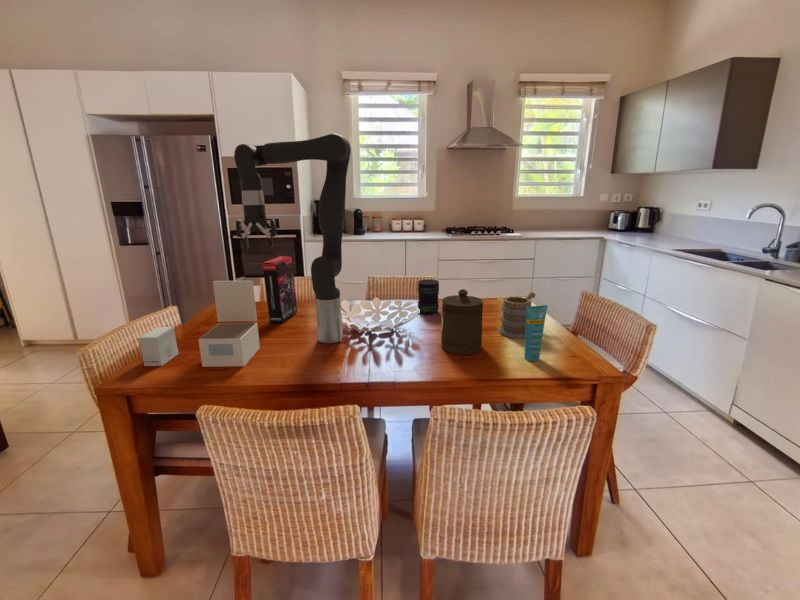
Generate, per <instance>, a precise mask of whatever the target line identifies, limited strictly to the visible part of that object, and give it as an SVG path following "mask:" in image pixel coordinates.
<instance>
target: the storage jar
mask: <svg viewBox="0 0 800 600" xmlns="http://www.w3.org/2000/svg"><path fill="white" fill-rule="evenodd" d="M417 283H418V284H417V285H418V286H417V293H418V301H417V309H418V308H419V309H420V314H419V315H421V314H422V316H426V315H432V316H434V315H433V314H436V315H438V314H439V307H440V306H439V293H440V292H439V291H440V282H439V280H437V279H421V280H418V282H417ZM437 313H438V314H437Z"/></svg>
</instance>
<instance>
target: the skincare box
mask: <svg viewBox="0 0 800 600" xmlns="http://www.w3.org/2000/svg"><path fill="white" fill-rule="evenodd" d="M137 339H138V342H139V347H140V353H141V356H142V361H143V365H144V367H163V366H164V365H165V364H167V363H168V362H169V361H171V360H172V359H174V358H175V357H177V356H178V355H180V353H179V349H178V345H177V339H176V333H175V329H174V326H159V327H158V326H157V327H155V328H153V329H151V330H149V331H148V332H146V333H144V334H143V335H141V336H139V337H137Z"/></svg>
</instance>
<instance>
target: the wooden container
mask: <svg viewBox="0 0 800 600" xmlns="http://www.w3.org/2000/svg"><path fill="white" fill-rule="evenodd" d="M457 293H458V295H449V296H445V297H443V298H442V302H441V305H442V307H441V308H442V309H441V327H440V328H441V329H440V331H441V332H440V337H441V340H440V342H441V343H440V344H441V345H440V346H441V349H442V350H443V351H445V352H447V353H449V354H454V355H463V356H464V355H467V356H468V355H472V354H473V355H474V354H477V353H479V352H480V351H481V350H482V344H483V343H482V338H483V307H484V301H483V299H481V298H480V297H476V296H473V295H469V294H468V293H469V292H468V290H466V289H463V288H462V289H460V290H458V291H457Z"/></svg>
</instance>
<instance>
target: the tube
mask: <svg viewBox="0 0 800 600" xmlns="http://www.w3.org/2000/svg"><path fill="white" fill-rule="evenodd" d="M547 311H548V304H542V305H531V306H526V338H524V339H525V341H524V343H525V345H524V357H523V358H524V359H525V360H526V361H531V362H537V361H540V356H541V347H542V340H543V334H544V327H545V321H546V317H547Z"/></svg>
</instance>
